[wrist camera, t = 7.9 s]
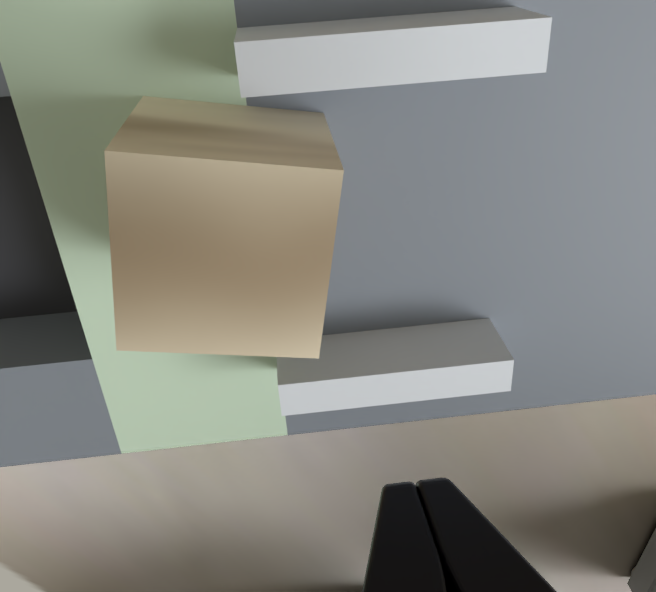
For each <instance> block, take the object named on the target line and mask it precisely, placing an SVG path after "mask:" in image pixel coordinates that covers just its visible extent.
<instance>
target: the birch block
mask: <svg viewBox="0 0 656 592" xmlns="http://www.w3.org/2000/svg"><path fill="white" fill-rule="evenodd" d="M104 154H105V170H106V187H107V203H108V220H109V236H110V253H111V269H112V286H113V302H114V319H115V335H116V351H141V352H166V353H191V354H216V355H241V356H267V357H292V358H317V359H319V355H320V347H321V340H322V332H323V324H324V317H325V309H326V302H327V294H328V287H329V279H330V272H331V264H332V257H333V249H334V242H335V234H336V227H337V219H338V211H339V204H340V196H341V189H342V181H343V174H344V169H343V166H342V163H341V161H340V158H339V155H338V152H337V149H336V146H335V144H334V141H333V138H332V135H331V132H330V130H329V127H328V124H327V121H326V118H325V115H324V113H319V112H308V111H298V110H287V109H277V108H266V107H256V106H245V105H234V104H224V103H213V102H203V101H192V100H182V99H171V98H160V97H150V96H143V97H142V98H141V100H140V101H139V102H138V104H137V105H136V107H135V108H134V109H133V111H132V112H131V114H130V115H129V117H128V118H127V119H126V121H125V122H124V124H123V125H122V126H121V128H120V129H119V131H118V132H117V133H116V135H115V136H114V138H113V139H112V141H111V142H110V143H109V145H108V146H107V148H106V149H105V150H104Z"/></svg>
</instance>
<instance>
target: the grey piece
mask: <svg viewBox="0 0 656 592" xmlns="http://www.w3.org/2000/svg"><path fill="white" fill-rule="evenodd" d="M143 96H150V97H160V98H171V99H182V100H192V101H203V102H213V103H224V104H234V105H245V106H256V107H266V108H277V109H287V110H298V111H308V112H319V113H324V115H325V118H326V121H327V124H328V127H329V130H330V132H331V135H332V138H333V141H334V144H335V146H336V149H337V152H338V155H339V158H340V161H341V163H342V166H343V169H344V174H343V181H342V189H341V196H340V204H339V211H338V219H337V227H336V234H335V242H334V249H333V257H332V264H331V272H330V279H329V287H328V294H327V302H326V309H325V317H324V324H323V332H322V340H321V347H320V355H319V359H317V358H292V357H267V356H241V355H216V354H191V353H166V352H141V351H116V335H115V319H114V302H113V286H112V269H111V253H110V236H109V220H108V203H107V187H106V170H105V154H104V150H105V149H106V148H107V146H108V145H109V143H110V142H111V141H112V139H113V138H114V136H115V135H116V133H117V132H118V131H119V129H120V128H121V126H122V125H123V124H124V122H125V121H126V119H127V118H128V117H129V115H130V114H131V112H132V111H133V109H134V108H135V107H136V105H137V104H138V102H139V101H140V100H141V98H142V97H143ZM653 394H656V0H0V467H6V466H15V465H24V464H33V463H42V462H51V461H60V460H69V459H78V458H87V457H96V456H104V455H113V454H122V453H131V452H140V451H149V450H158V449H167V448H176V447H185V446H194V445H203V444H212V443H221V442H230V441H239V440H248V439H257V438H266V437H275V436H284V435H293V434H302V433H311V432H320V431H329V430H338V429H347V428H356V427H365V426H374V425H383V424H392V423H401V422H410V421H419V420H428V419H437V418H446V417H455V416H464V415H473V414H482V413H491V412H500V411H509V410H518V409H527V408H536V407H545V406H554V405H563V404H572V403H581V402H590V401H599V400H608V399H617V398H626V397H635V396H644V395H653Z"/></svg>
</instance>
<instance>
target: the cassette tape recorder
mask: <svg viewBox="0 0 656 592" xmlns="http://www.w3.org/2000/svg"><path fill="white" fill-rule="evenodd" d="M628 585H629V587H630V589H631V591H632V592H656V528H655V530H654V532H653V534H652V536H651V538H650V540H649V542H648V544H647V546H646V548H645V550H644V552H643V554H642V556H641V558H640V559H639V561H638V563H637V565H636V567H634V568H633V569H632V571H631V577H630V579H629V581H628Z"/></svg>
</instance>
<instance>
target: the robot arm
mask: <svg viewBox="0 0 656 592" xmlns="http://www.w3.org/2000/svg"><path fill="white" fill-rule="evenodd" d="M362 592H556V591H555V590H554V589H553V588H552V587H551V585H550V584H549V583H548V582H547V581H546V580H545V579H544V578H543V577H542V576H541V575H540V574H539V573H538V572H537V571H536V570H535V569H534V568H533V567H532V566H531V565H530V563H529V562H528V561H527V560H526V559H525V558H524V557H523V556H522V555H521V554H520V553H519V552H518V551H517V550H516V549H515V548H514V547H513V546H512V545H511V544H510V543H509V541H508V540H507V539H506V538H505V537H504V536H503V535H502V534H501V533H500V532H499V531H498V530H497V529H496V528H495V527H494V526H493V525H492V524H491V523H490V522H489V521H488V519H487V518H486V517H485V516H484V515H483V514H482V513H481V512H480V511H479V510H478V509H477V508H476V507H475V506H474V505H473V504H472V503H471V502H470V501H469V500H468V499H467V497H466V496H465V495H464V494H463V493H462V492H461V491H460V490H459V489H458V488H457V487H456V486H455V485H454V484H453V483H452V482H451V481H450V480H449V479H446V478H435V479H427V480H420V481H418V482H417V483H416V485H415V484H414V483H412V482H401V483H393V484H387V485H385V486H384V487H383V488H382V492H381V497H380V502H379V507H378V512H377V518H376V523H375V528H374V533H373V538H372V543H371V549H370V554H369V559H368V564H367V569H366V575H365V580H364V585H363V590H362Z"/></svg>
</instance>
